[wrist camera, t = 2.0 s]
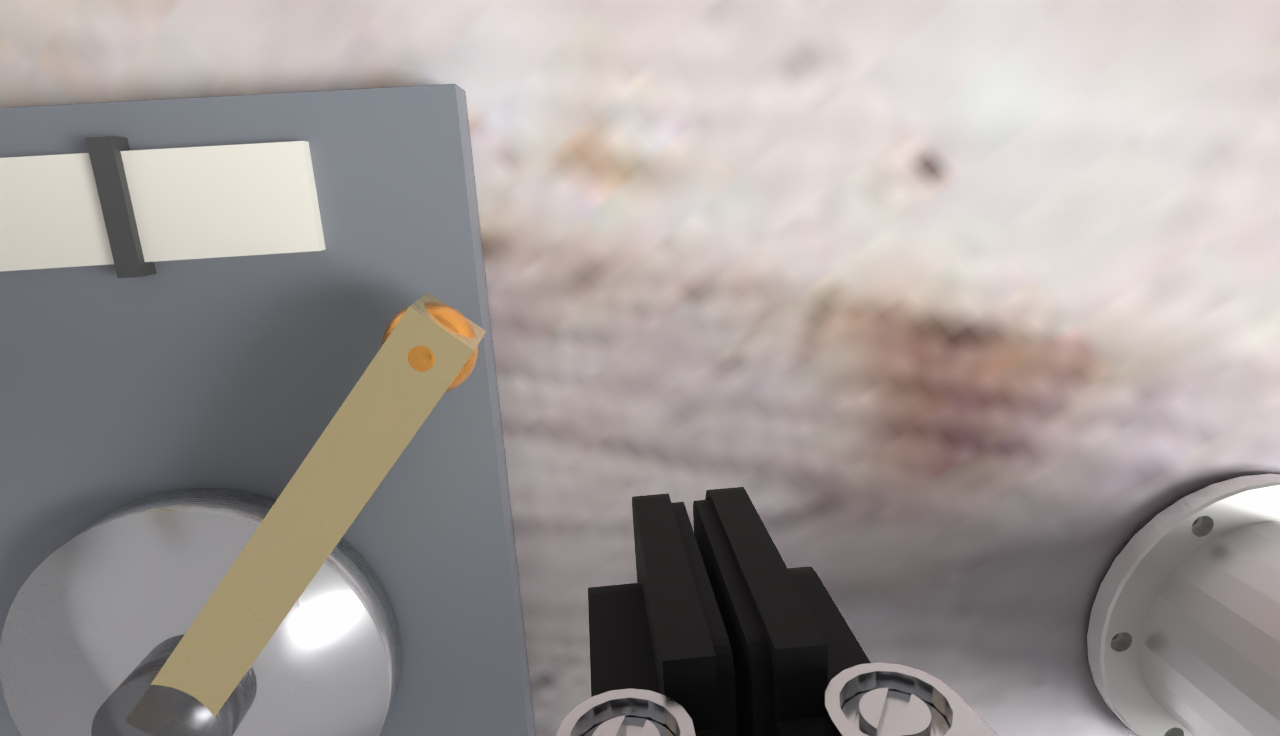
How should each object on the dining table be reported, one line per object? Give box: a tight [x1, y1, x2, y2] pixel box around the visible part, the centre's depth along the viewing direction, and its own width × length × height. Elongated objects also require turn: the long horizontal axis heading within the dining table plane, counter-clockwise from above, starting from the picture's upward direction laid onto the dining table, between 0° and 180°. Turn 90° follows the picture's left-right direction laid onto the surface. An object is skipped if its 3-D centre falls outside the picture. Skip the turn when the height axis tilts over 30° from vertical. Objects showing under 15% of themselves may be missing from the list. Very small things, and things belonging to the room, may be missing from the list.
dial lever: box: [0, 292, 486, 736], centre depth 23 cm, size 21×12×4 cm, turn 143°
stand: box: [0, 84, 536, 736], centre depth 26 cm, size 20×27×3 cm
